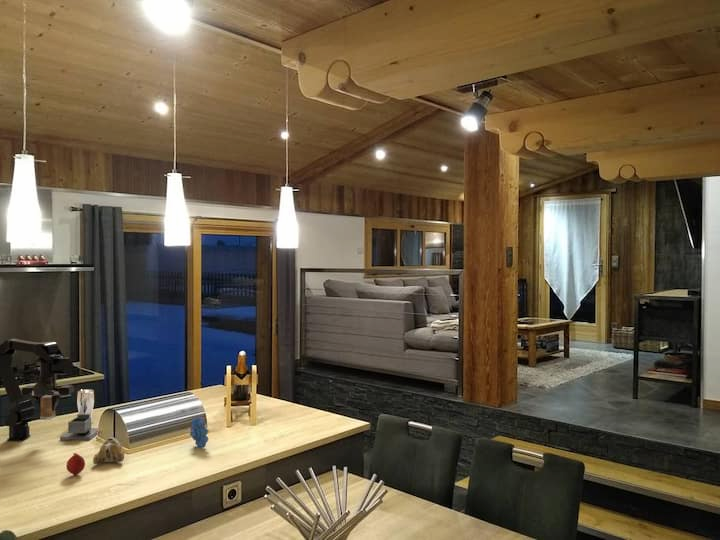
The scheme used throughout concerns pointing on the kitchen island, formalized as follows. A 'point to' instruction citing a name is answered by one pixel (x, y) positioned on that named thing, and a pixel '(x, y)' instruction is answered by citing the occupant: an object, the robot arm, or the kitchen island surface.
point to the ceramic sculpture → (109, 452)
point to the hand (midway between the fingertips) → (48, 410)
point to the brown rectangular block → (47, 408)
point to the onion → (75, 464)
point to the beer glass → (85, 401)
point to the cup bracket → (80, 428)
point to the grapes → (199, 432)
